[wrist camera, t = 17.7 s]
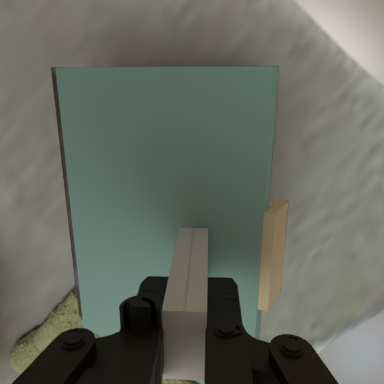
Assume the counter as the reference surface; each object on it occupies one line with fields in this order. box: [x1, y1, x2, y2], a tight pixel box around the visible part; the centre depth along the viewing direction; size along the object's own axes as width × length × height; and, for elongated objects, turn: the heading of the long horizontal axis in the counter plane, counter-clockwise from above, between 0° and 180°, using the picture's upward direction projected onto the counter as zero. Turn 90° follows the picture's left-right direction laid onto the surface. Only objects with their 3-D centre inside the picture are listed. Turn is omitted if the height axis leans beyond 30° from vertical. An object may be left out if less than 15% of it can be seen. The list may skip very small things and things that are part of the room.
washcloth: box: [10, 289, 195, 384], centre depth 39 cm, size 13×18×3 cm
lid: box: [55, 66, 289, 384], centre depth 21 cm, size 17×13×2 cm
